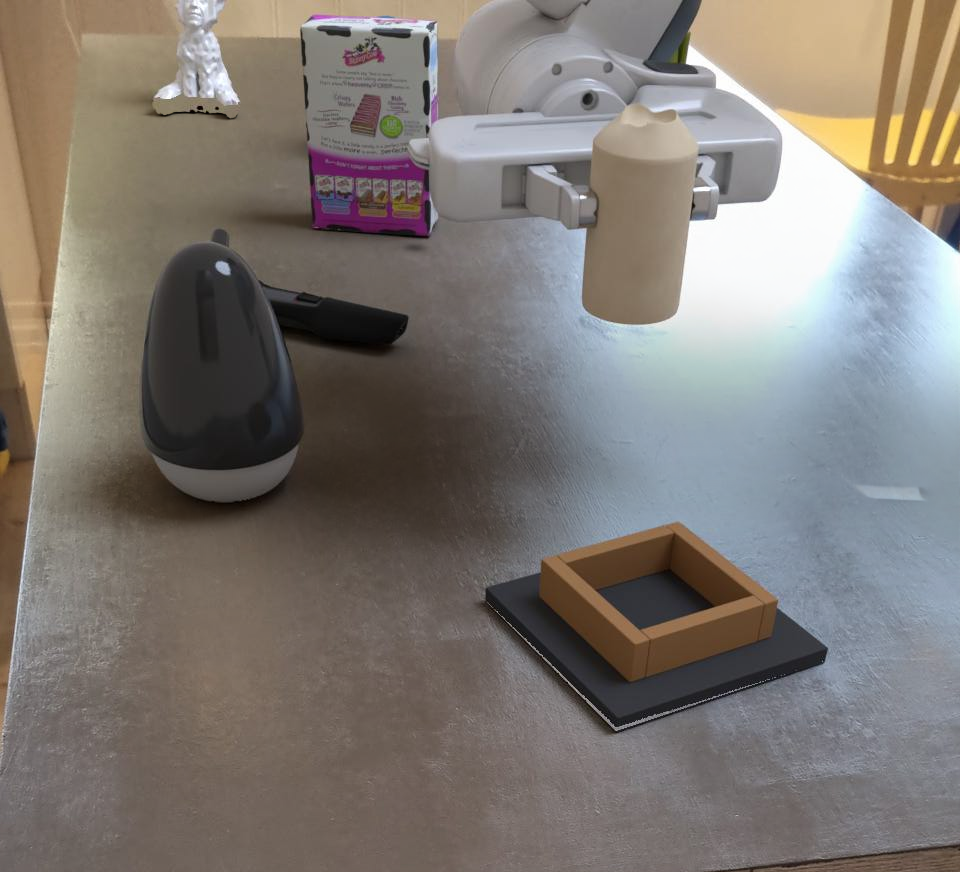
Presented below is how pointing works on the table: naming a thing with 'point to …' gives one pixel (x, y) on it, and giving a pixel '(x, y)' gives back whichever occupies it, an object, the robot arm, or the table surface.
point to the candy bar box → (369, 121)
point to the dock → (653, 623)
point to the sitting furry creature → (200, 55)
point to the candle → (639, 216)
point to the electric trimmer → (335, 317)
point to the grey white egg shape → (217, 378)
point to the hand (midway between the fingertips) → (646, 209)
